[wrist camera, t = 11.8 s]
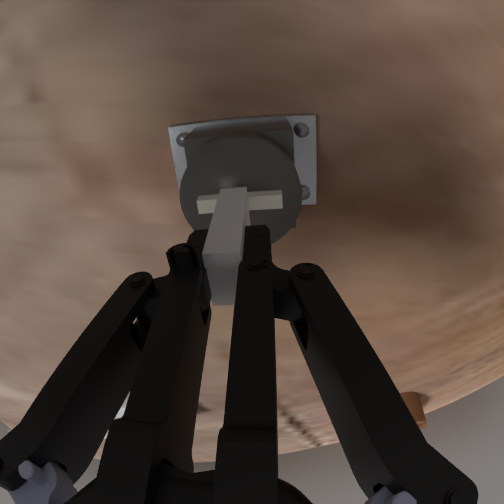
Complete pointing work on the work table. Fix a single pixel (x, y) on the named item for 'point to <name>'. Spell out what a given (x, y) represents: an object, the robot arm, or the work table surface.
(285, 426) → the work table surface
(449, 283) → the work table surface
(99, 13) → the work table surface
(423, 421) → the bracket
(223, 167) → the knob
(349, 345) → the robot arm
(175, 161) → the mounting plate
